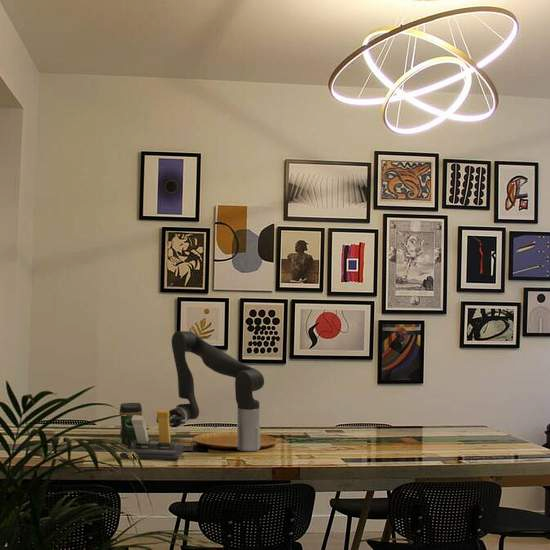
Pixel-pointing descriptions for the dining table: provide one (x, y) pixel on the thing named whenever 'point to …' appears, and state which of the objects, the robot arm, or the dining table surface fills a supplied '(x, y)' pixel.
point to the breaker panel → (155, 446)
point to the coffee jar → (128, 422)
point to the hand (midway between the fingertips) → (164, 423)
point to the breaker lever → (164, 428)
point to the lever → (140, 430)
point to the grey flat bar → (152, 454)
